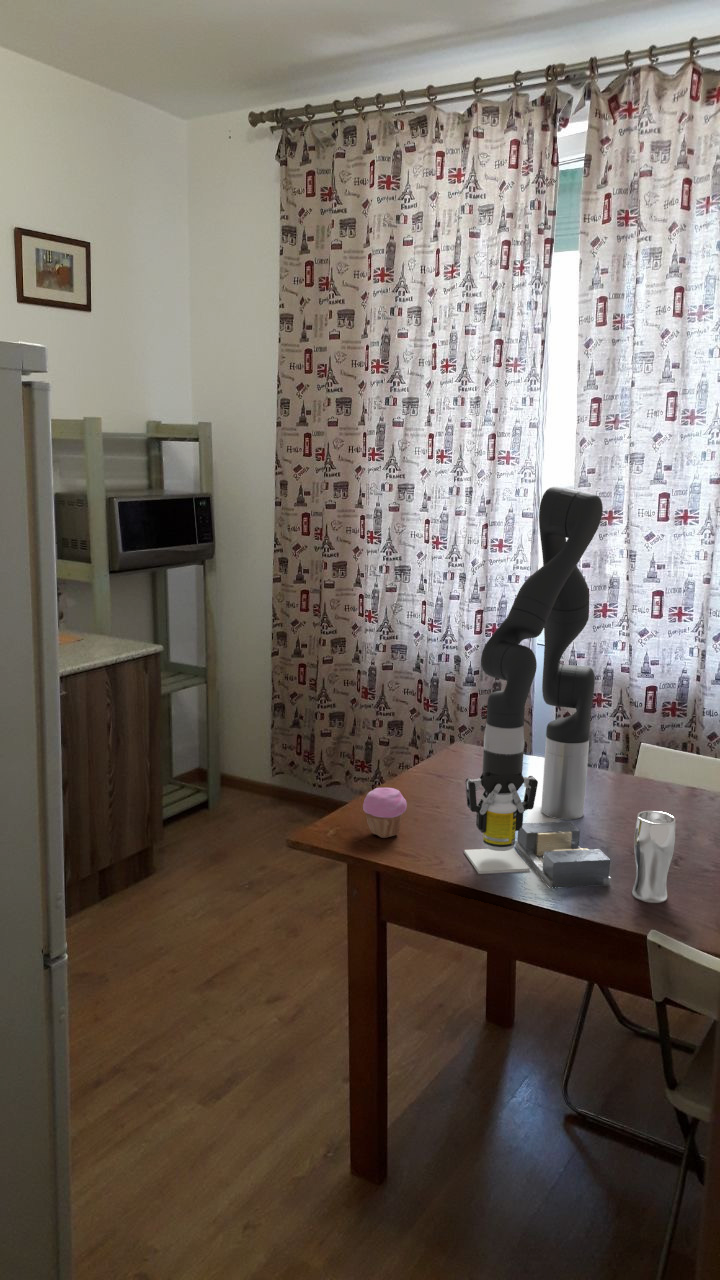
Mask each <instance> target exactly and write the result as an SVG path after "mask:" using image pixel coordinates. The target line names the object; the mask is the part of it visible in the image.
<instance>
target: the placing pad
mask: <svg viewBox="0 0 720 1280" xmlns="http://www.w3.org/2000/svg"><path fill="white" fill-rule="evenodd" d="M463 853H464V855H465V856H466V858H467V859H468V860H469V862H470V863H471V864H472V866H473V867H474V869H475V871H476V873H478V875H484V874H485V875H486V874H504V873H524V872H531V868H530V866H529V865H528V864H527V862H525V860H524V859H523V858H522V857H521V856H520V855H519V854H518V852H517V851H516V850H515V849H514V847H513V848H512V849H511V850H508V851H495V850H490V849H488V848H481V849H480V848H474V849H463Z"/></svg>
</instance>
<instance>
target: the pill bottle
mask: <svg viewBox="0 0 720 1280" xmlns="http://www.w3.org/2000/svg"><path fill="white" fill-rule="evenodd" d="M512 800H513V797H512V794H511V793H497V795H496V797H495V799H494V801H493V802H492V804H491V805H490V806H489V807H488V809H487V811H486V813H485V814H486V815H487V816H486V832H485V833H482V845H483V846H484V847H485V849H490V850H495V851H508V850H511V849H512V848H513V849H514V847H515V841H516V831H515V830H516V813H517V807H516V805H515V803H514V802H513V801H512Z"/></svg>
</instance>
